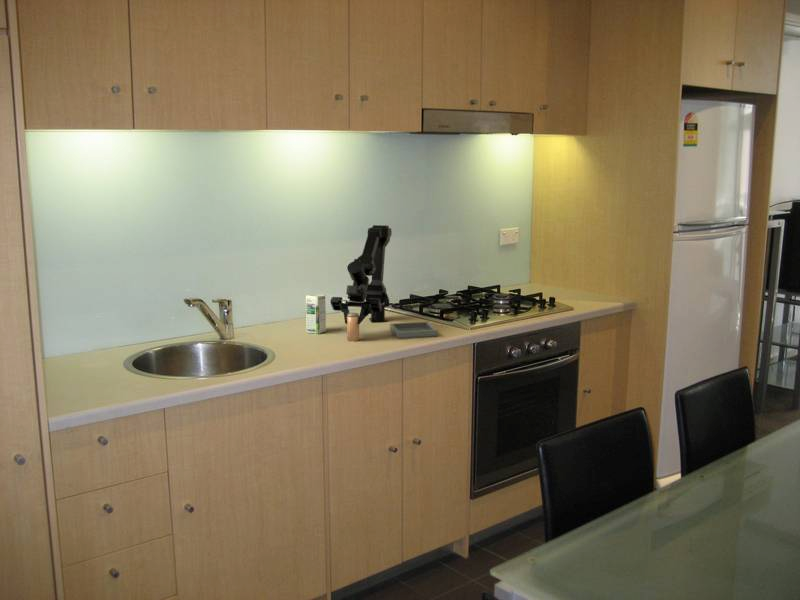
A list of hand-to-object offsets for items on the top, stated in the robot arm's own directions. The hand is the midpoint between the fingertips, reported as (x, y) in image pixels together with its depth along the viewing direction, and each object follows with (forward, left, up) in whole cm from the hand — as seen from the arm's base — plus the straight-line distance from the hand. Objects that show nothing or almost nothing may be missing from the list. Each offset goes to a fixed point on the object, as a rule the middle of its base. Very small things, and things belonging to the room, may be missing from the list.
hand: (352, 323), depth 292 cm
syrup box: (-17, -11, -7) cm, 22 cm away
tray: (-6, +25, -7) cm, 26 cm away
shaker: (-1, +1, -7) cm, 7 cm away
